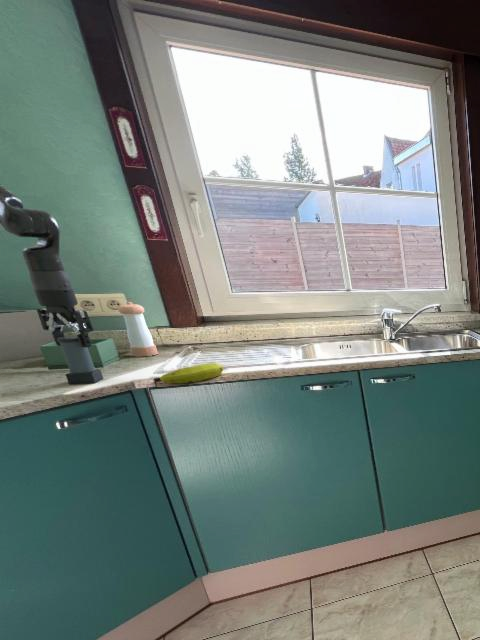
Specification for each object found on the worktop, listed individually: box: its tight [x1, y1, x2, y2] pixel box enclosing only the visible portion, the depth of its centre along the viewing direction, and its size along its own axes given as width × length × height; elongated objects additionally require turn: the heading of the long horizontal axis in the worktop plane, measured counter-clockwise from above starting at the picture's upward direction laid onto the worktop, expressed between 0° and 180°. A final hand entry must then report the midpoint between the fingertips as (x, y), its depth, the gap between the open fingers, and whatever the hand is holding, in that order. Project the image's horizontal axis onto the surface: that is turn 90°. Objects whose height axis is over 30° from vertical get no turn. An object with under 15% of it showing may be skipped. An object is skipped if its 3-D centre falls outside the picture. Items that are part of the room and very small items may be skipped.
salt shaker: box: [118, 301, 159, 358], centre depth 179 cm, size 7×7×19 cm
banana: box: [153, 362, 225, 384], centre depth 154 cm, size 5×17×15 cm
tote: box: [39, 337, 121, 371], centre depth 165 cm, size 14×14×8 cm
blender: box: [57, 335, 104, 385], centre depth 144 cm, size 6×6×13 cm
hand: (74, 346), depth 142 cm, fingers open, 8 cm apart
